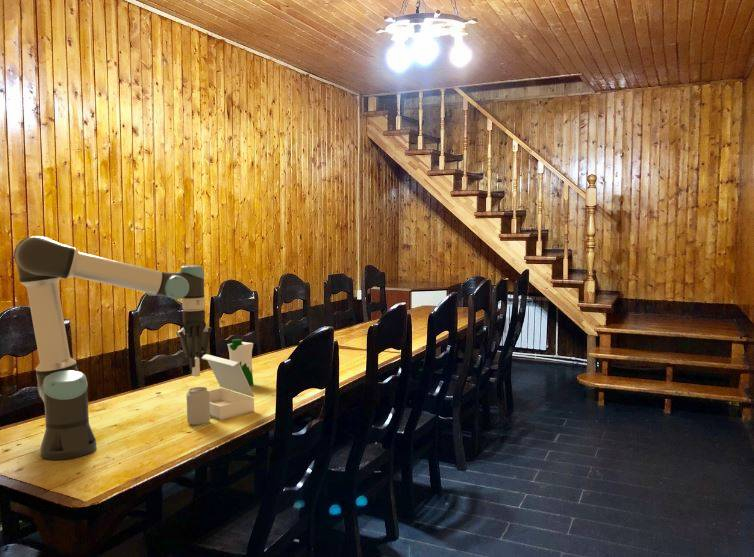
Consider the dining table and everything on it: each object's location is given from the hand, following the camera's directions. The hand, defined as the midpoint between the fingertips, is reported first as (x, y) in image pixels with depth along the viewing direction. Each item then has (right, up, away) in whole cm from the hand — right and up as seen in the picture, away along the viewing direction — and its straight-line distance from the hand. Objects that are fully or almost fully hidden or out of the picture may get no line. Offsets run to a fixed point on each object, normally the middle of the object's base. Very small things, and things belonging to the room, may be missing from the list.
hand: (196, 375), depth 223 cm
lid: (+8, -2, +8) cm, 12 cm away
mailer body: (+7, -14, +8) cm, 17 cm away
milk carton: (+7, -11, +44) cm, 45 cm away
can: (+3, -15, -7) cm, 17 cm away
